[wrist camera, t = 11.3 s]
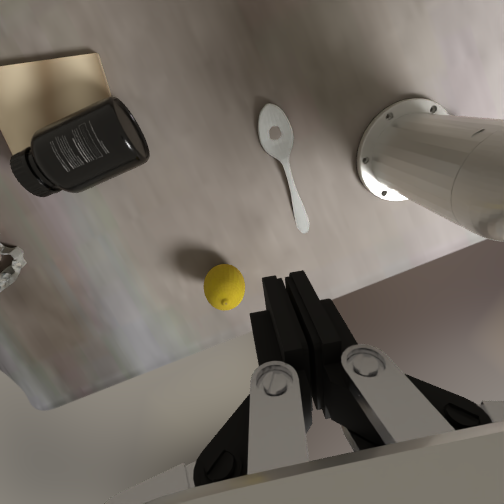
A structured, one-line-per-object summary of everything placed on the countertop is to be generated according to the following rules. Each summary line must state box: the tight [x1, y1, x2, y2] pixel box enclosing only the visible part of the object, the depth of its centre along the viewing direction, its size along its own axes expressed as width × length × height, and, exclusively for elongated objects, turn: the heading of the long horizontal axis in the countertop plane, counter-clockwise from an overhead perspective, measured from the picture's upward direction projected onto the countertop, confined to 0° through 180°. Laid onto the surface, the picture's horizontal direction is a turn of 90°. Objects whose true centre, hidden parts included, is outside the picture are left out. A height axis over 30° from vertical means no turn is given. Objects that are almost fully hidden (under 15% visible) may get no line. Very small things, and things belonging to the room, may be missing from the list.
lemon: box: [204, 264, 245, 310], centre depth 41 cm, size 6×6×8 cm
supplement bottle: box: [10, 97, 150, 197], centre depth 31 cm, size 7×7×12 cm
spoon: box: [258, 103, 309, 233], centre depth 40 cm, size 4×21×2 cm, turn 20°
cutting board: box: [0, 53, 112, 155], centre depth 33 cm, size 12×11×1 cm
